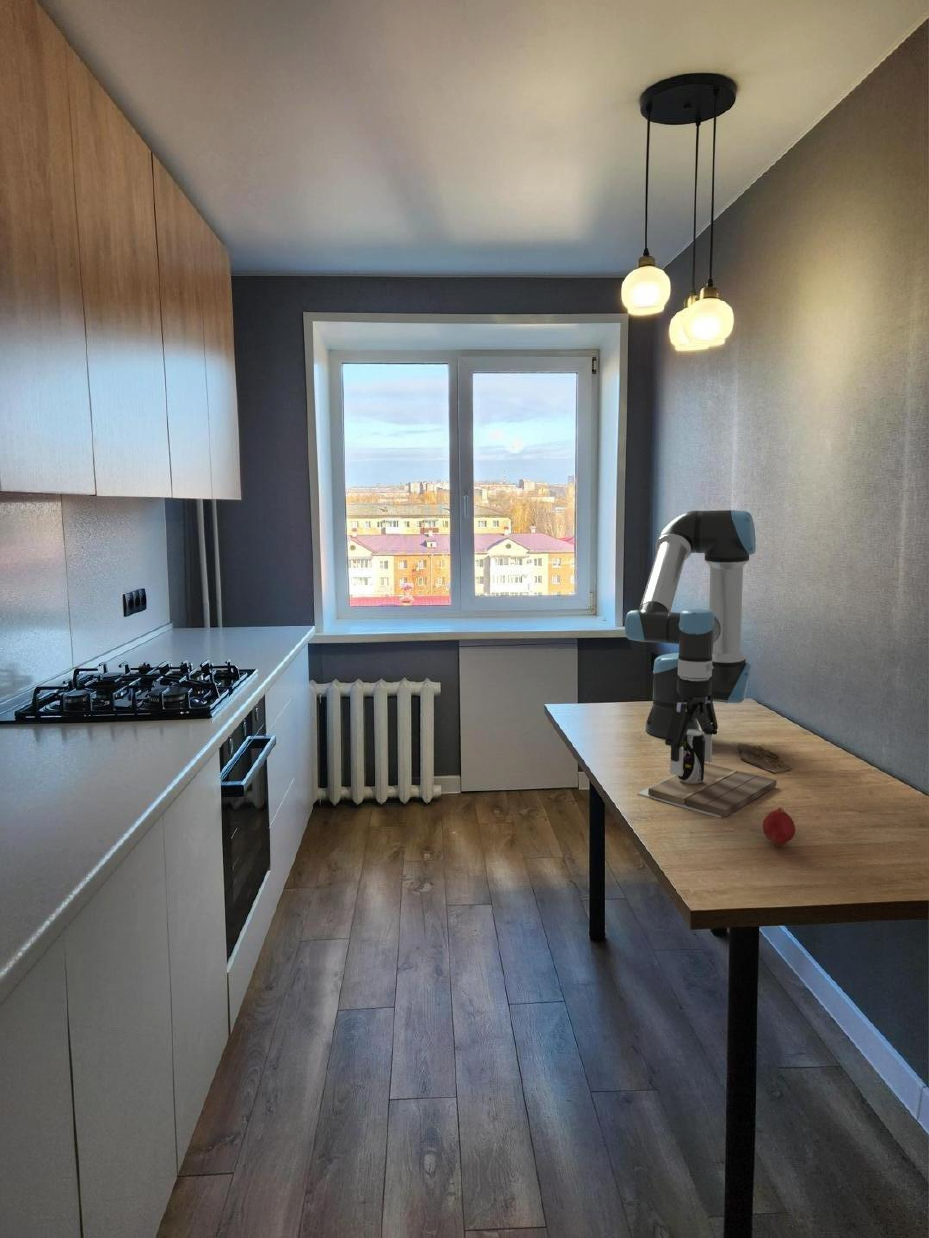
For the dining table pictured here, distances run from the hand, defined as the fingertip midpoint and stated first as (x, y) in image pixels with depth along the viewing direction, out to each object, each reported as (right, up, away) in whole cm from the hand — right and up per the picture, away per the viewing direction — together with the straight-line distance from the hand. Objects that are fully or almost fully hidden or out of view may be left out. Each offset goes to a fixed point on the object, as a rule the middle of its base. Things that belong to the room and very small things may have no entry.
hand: (691, 767), depth 179 cm
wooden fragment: (+25, -3, +24) cm, 35 cm away
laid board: (+8, -6, -4) cm, 11 cm away
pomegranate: (+8, -10, -30) cm, 33 cm away
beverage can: (0, -4, 0) cm, 4 cm away
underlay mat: (+4, -5, 0) cm, 6 cm away
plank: (+1, -5, +2) cm, 5 cm away
